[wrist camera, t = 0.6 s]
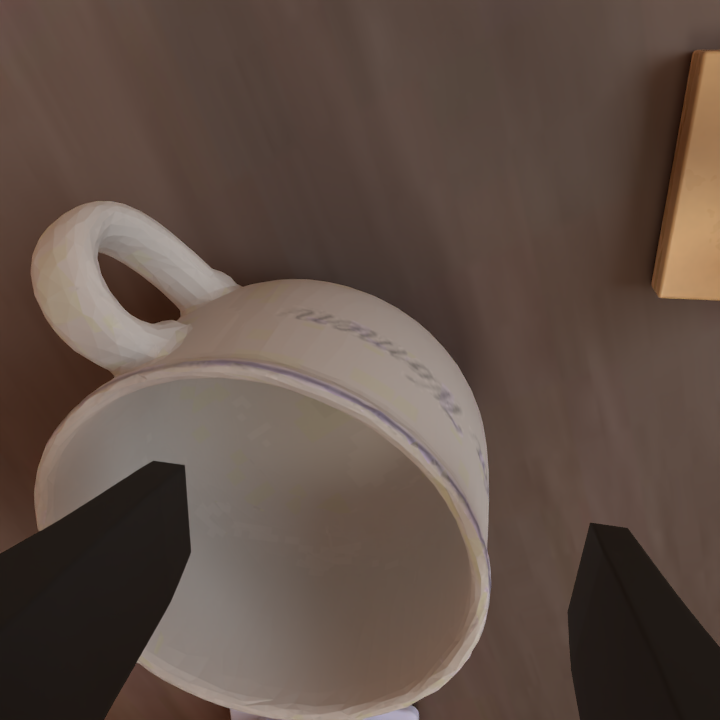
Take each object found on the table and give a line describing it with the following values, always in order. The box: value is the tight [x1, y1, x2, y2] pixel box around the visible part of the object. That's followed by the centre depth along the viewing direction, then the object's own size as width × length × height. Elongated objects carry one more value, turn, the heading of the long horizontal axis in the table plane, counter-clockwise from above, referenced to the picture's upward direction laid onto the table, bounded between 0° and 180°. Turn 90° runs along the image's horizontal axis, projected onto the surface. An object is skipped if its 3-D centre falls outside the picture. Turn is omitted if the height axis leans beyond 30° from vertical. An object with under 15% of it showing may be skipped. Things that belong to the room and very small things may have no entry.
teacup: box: [31, 201, 491, 720], centre depth 18 cm, size 14×11×8 cm
